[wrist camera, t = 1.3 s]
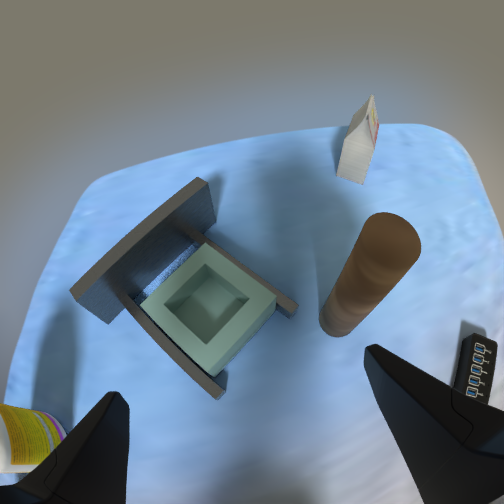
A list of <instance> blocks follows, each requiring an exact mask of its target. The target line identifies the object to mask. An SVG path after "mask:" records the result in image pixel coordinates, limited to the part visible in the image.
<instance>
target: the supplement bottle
mask: <svg viewBox="0 0 504 504" xmlns="http://www.w3.org/2000/svg"><path fill="white" fill-rule="evenodd" d="M66 436H67V435H66V433H65V431H64V429H63V427H62V426H61V424H60V423H59V422H58V421H57V420H56V419H55V418H54V417H53V416H51V415H50V414H48V413H45V412H41V411H36V410H30V409H24V408H19V407H14V406H9V405H5V404H1V403H0V473H29V472H31V471H32V470H34V469H35V468H36V467H37V466H38V465H39V464H40V463H41V462H42V461H43V460H44V459H45V458H46V457H47V456H48V455H49V454H50V453H51V452H52V451H53V450H54V449H55V448H56V447H57V446H58V445H59V444H60V442H61V441H62V440H63V439H64V438H65V437H66Z"/></svg>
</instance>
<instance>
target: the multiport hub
mask: <svg viewBox="0 0 504 504" xmlns="http://www.w3.org/2000/svg"><path fill="white" fill-rule="evenodd" d="M497 347H498V345H497V342H495V341H493V340H491V339H488V338H486V337H483V336H481V335H479V334H476V333H473V334H472V335H470V336H468V337H466V338H464V339H463V341H462V346H461V352H460V358H459V363H458V368H457V373H456V377H455V382H454V386H453V388H454V389H456V390H458V391H459V392H461V393H463V394H465V395H467V396H469V397H471V398H473V399H475V400H478V401H480V402H482V403H485V404H487V405H488V401H489V397H490V392H491V387H492V382H493V376H494V370H495V363H496V356H497Z"/></svg>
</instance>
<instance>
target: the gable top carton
mask: <svg viewBox="0 0 504 504" xmlns="http://www.w3.org/2000/svg"><path fill="white" fill-rule="evenodd" d="M378 128H379V121H378V117H377V112H376V108H375V103H374V96H372V95H371V96H370V98H369V99H368V100H367V102H366V103H365V104H364V105H363V106H362V107H361V108H360V109H359V110H358V111H357V112H356V113H355V114H354V115H353V118H352V121H351V123H350V126H349V129H348V131H347V134H346V137H345V139H344V144H343V148H342V153H341V157H340V161H339V165H338V170H337V174H336V176H339V177H341V178H344V179H347V180H350V181H353V182H356V183H358V184H361V185H363V183H364V180H365V177H366V174H367V171H368V168H369V165H370V162H371V159H372V156H373V152H374V149H375V144H376V139H377V134H378Z"/></svg>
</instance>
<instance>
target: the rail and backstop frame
mask: <svg viewBox="0 0 504 504" xmlns="http://www.w3.org/2000/svg"><path fill="white" fill-rule="evenodd" d="M214 223H216V218H215V214H214V209H213V205H212V200H211V195H210V190H209V186H208V183H207V182H206V181H204V180H202V179H201V178H199V177H196V178H195V179H194V180H192V181H191V182H190V183H188V184H187V185H186V186H185V187H183V188H182V189H181V190H179V191H178V192H177V193H176V194H174V195H173V196H172V197H171V198H169V199H168V200H167V201H166V202H164V203H163V204H162V205H161V206H160V207H158V208H157V209H156V210H155V211H154V212H152V213H151V214H150V215H149V216H148V217H146V218H145V219H144V220H143V221H142V222H141V223H139V224H138V225H137V226H136V227H135V228H134V229H133V230H131V231H130V232H129V233H128V234H127V235H126V236H125V237H124V238H122V239H121V240H120V241H119V242H118V243H117V244H116V245H115V246H114V247H113V248H111V249H110V250H109V251H108V252H107V253H106V254H105V255H104V256H103V257H102V258H101V259H100V260H99V261H98V262H97V263H96V264H95V265H94V266H93V267H91V268H90V269H89V270H88V271H87V272H86V273H85V274H84V275H83V276H82V277H81V278H80V279H79V280H78V281H77V282H76V283H75V284H74V285H73V287H72V288H71V289H70V290H69V291H70V292H71V294H72V296H73V297H74V299H75V300H76V302H78V303H79V304H80V305H82V306H83V307H84V308H86V309H87V310H88V311H90V312H91V313H92V314H94V315H95V316H97V317H98V318H99V319H101V320H102V321H104V322H105V323H107V324H109V323H110V322H111V321H112V320H113V319H114V318H115V317H116V316H117V315H118V314H119V313H120V312H121V311H122V310H123V309H124V308H126V309H127V310H128V311H129V313H130V314H131V315H132V316H133V317H134V318H135V320H136V321H137V322H138V323H139V324H140V325H141V326H142V327H143V329H144V330H145V331H146V332H147V333H148V334H149V335H150V336H151V337H152V338H153V339H154V341H155V342H156V343H157V344H158V345H159V346H160V347H161V348H162V349H163V350H164V351H165V352H166V353H167V354H168V355H169V356H170V357H171V358H172V359H173V360H174V361H175V362H176V363H177V364H178V365H179V366H180V367H181V368H182V369H183V370H184V371H185V372H186V373H187V374H188V375H189V376H190V377H191V378H192V379H193V380H194V381H196V382H197V383H198V384H199V385H200V386H201V387H202V388H203V389H204V390H205V391H206V392H208V393H209V394H210V395H211V396H212V397H213V398H214V399H216V400H219V399H220V398H221V396H222V395H223V394H224V393H225V392H226V391H225V390H223V389H222V388H221V387H220V386H219V385H218V384H217V383H215V382H214V381H213V380H212V379H211V378H210V377H209V376H208V375H206V374H205V373H204V372H203V371H202V370H201V369H200V368H199V367H198V366H197V365H196V364H194V363H193V362H192V361H191V360H190V359H189V358H188V357H187V356H186V355H185V354H184V353H183V352H182V351H181V350H180V349H179V348H178V347H177V346H176V345H175V344H174V343H173V342H172V341H171V340H170V339H169V338H168V337H167V336H166V335H165V334H164V333H163V332H162V331H161V330H160V329H159V328H158V327H157V326H156V325H155V324H154V323H153V322H152V321H151V319H150V318H149V317H148V316H147V315H146V314H145V313H144V312H143V311H142V310H141V309H140V307H139V306H138V305H137V304H136V303H135V302H134V301H133V299H134V298H135V297H136V296H137V295H138V294H139V293H140V292H141V291H142V290H144V289H145V288H146V287H147V286H148V285H149V284H150V283H151V282H152V281H153V280H154V279H155V278H156V277H157V276H158V275H159V274H160V273H161V272H162V271H163V270H164V269H165V268H166V267H168V266H169V265H170V264H171V263H172V262H173V261H174V260H175V259H176V258H177V257H178V256H179V255H180V254H181V253H183V252H184V251H185V250H186V249H187V248H188V247H189V246H190V245H191V244H193V245H194V246H195V247H197V248H198V249H199V248H200V247H201V246H202V245H203V244H204V243H207V244H208V245H209V246H211V247H212V248H213V249H215V250H216V251H217V252H219V253H220V254H221V255H223V256H224V257H225V258H227V259H228V260H229V261H231V262H232V263H233V264H234V265H236V266H237V267H238V268H240V269H241V270H242V271H244V272H245V273H246V274H248V275H249V276H250V277H252V278H253V279H255V280H256V281H257V282H259V283H260V284H261V285H263V286H264V287H265V288H267V289H268V290H269V291H271V292H272V293H273V294H275V295H276V296H277V299H276V307H275V308H276V309H277V310H278V311H280V312H281V313H282V314H284V315H285V316H286V317H288V318H289V319H291V317H292V316H293V315H294V314H295V312H296V311H297V309H298V306H299V305H298V304H296V303H295V302H294V301H292V300H291V299H289V298H288V297H287V296H285V295H284V294H283V293H281V292H280V291H278V290H277V289H276V288H274V287H273V286H272V285H270V284H269V283H268V282H266V281H265V280H263V279H262V278H261V277H259V276H258V275H257V274H255V273H254V272H253V271H251V270H250V269H249V268H247V267H246V266H244V265H243V264H242V263H240V262H239V261H238V260H236V259H235V258H234V257H232V256H231V255H230V254H228V253H227V252H226V251H224V250H223V249H222V248H220V247H219V246H218V245H216V244H215V243H214V242H212V241H211V240H210V239H208V238H207V237H206V236H204V235H203V233H204V232H206V231H207V230H208V229H209V228H210V227H211V226H212V225H213V224H214Z"/></svg>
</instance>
